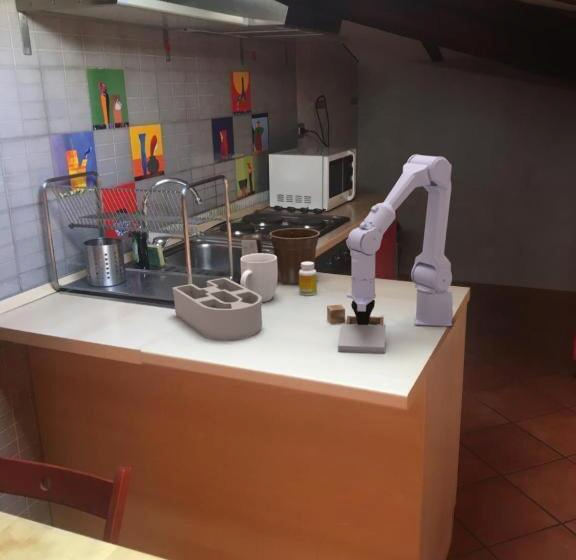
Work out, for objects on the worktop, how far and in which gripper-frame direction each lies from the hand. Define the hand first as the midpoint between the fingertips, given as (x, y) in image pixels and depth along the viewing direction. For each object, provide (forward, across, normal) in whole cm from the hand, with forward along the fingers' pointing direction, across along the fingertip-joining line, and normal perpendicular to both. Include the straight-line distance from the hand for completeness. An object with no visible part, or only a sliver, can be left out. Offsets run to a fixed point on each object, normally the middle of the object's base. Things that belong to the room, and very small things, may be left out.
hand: (363, 329), depth 159 cm
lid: (+1, +4, 0) cm, 5 cm away
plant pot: (+3, -50, -25) cm, 56 cm away
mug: (+3, -28, -33) cm, 44 cm away
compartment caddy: (+3, -8, -39) cm, 40 cm away
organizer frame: (+3, -4, 0) cm, 5 cm away
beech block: (+3, -12, -8) cm, 15 cm away
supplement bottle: (+3, -36, -19) cm, 41 cm away
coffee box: (+3, -44, -38) cm, 59 cm away
